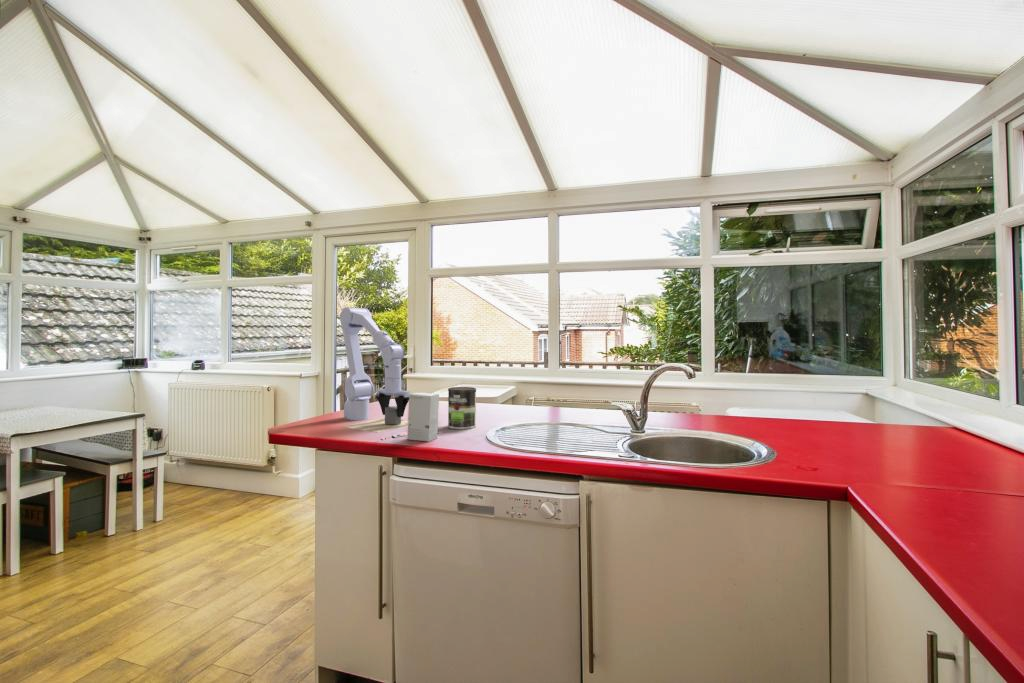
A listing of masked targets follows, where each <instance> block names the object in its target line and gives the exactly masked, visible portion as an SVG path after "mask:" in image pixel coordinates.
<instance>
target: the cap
mask: <svg viewBox="0 0 1024 683" xmlns="http://www.w3.org/2000/svg"><path fill="white" fill-rule="evenodd" d="M384 418H385V424H399V423H401V420H402V417H398V415H397V405H396V406H394V405H393V406H390V405H389V407H385V415H384Z"/></svg>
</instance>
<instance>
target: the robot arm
mask: <svg viewBox="0 0 1024 683" xmlns="http://www.w3.org/2000/svg"><path fill="white" fill-rule="evenodd" d="M339 321H340V326H341V331H342V335H343V341H344V342H343V343H344V346H345V353H346V359H347V364H348V365H347V366H348V372H349V376H348V377H347V378H346V379H345V380H344V396H345V398H347V399H346V400H345V402H344V403H343V419H345V420H349V421H365V420H368V419H370V399H372V396H373V395H374V393H375V392H374V391H375V387H374V383H373V382H372V379H371V376H370V375H368V374H367V373H366V372H365V369H364V362H363V356H362V351H361V345H360V338H359V332H360V331H362V330H363V329H365V330H366V331H367V332H368V333H369V334H370V335H371V336H372V343H374V345H375V346H377V348H378V350H379V351H380V356H381V358H382V361H383V362H382V363H383V365H384V388H377V389H376V394H377V395H376V397H375V399H376V400H377V402H378V404H379V406H380V409H381V413H382V415H383V416H385V407H390V401H391V399H392V397H393V396H394V401H395V405H396V406H397V415H398V417H401V418H403V417H404V415H405V410H406V407H407V405H408V404H409V394H411V392H410V391H408V390H404V389H402V361H403V359H404V357H405V355H406V354H405V348H404V347H403V345H402V344H401V343H396V342H395V340H393V338H391V336H390V335H389V333H388V332H387V331H386V330H380V328H379V326H378V325H377V323H376V322H375V321H374V319H373V318H372V312H370V310H369V309H368V308H367V307H363V308H361V307H349V306H345V307H344V308H342V310H341V311H340V314H339Z"/></svg>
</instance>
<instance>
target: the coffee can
mask: <svg viewBox="0 0 1024 683" xmlns="http://www.w3.org/2000/svg"><path fill="white" fill-rule="evenodd" d="M447 391H448V392H447V393H448V394H447V395H448V402H447V403H448V406H447V407H448V408H447V409H448V410H447V411H448V412H447V413H448V415H447V416H448V417H447V419H448V422H447V424H448V425H447V427H448V428H449V429H452V430H468V429H469V430H470V429H474V428H476V427H477V424H476V420H477V419H476V418H477V417H476V414H477V413H476V412H477V410H476V409H477V408H476V406H477V405H476V404H477V401H476V400H477V388H476V387H469V386H456V387H455V386H453V387H452V386H451V387H449V388H448V389H447Z"/></svg>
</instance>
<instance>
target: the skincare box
mask: <svg viewBox="0 0 1024 683" xmlns="http://www.w3.org/2000/svg"><path fill="white" fill-rule="evenodd" d="M439 399H440V394H437V393H430V392H429V393H428V392H413V393H410V394H409V401H408V417H407V420H408V425H407V440H408V441H409V440H410V441H420V442H432V441H434V440H437V439H438V430H439V428H438V427H439V426H438V425H439V405H440V402H439V401H440V400H439Z"/></svg>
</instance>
